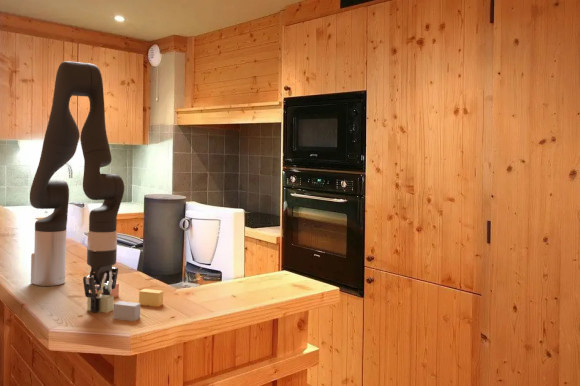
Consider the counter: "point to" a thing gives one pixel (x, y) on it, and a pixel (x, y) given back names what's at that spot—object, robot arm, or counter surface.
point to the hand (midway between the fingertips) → (100, 308)
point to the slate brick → (126, 311)
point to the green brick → (103, 303)
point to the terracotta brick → (113, 290)
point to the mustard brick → (151, 297)
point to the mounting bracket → (190, 285)
